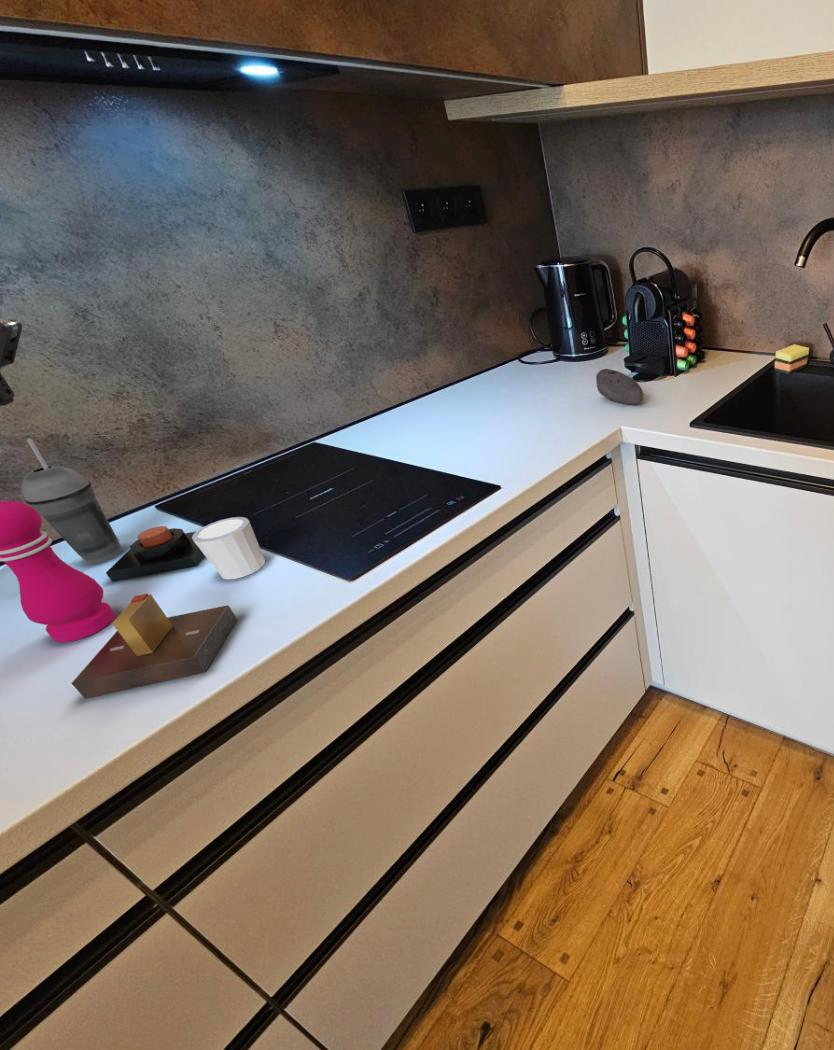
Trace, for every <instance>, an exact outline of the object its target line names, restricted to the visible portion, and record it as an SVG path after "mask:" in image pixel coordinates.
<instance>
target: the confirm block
mask: <svg viewBox="0 0 834 1050" xmlns="http://www.w3.org/2000/svg"><path fill="white" fill-rule="evenodd" d="M168 530H169V531H170V533H171V534H172V536H173V537H172V538H171V539H169V540H167V541H166V542H164V543H161V544H158V545H155V546H150V547H144V546H143V545H142V543H141V542H140V540H139V539H138V538H137V539H136V540H135V541H134V542H132V544H131V545H129V550H127V552H125V553H124V554H123V555H122V556H121V557H120V558H119V559H118V560H117V561H116V562H115V563H114V564H113V565H112V566H111V567H110V568H109V569H108V570H107V571H106V572H105V574H106V575H107V577H108V578H109V579H110V581H111V582H112V583H115V582H119V581H124V580H130V579H136V578H141V577H145V576H152V575H156V574H157V575H158V574H162V573H167V572H174V571H177V570H184V569H189V568H195V567H197V566H198V565H199V564H200V563H201V561H202V560H203V559H204V558H205V557H206V556H205V555H204V554H203V552H202V551H201V550H200V548H199V547H198V546H197V545H196V543H195V542H194V541H193V539H192V536H193V535H194V533H195V532H197V531H198V530H196V531H192V532H186V533H185V530H183V528H177V527H173V528H168Z"/></svg>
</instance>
